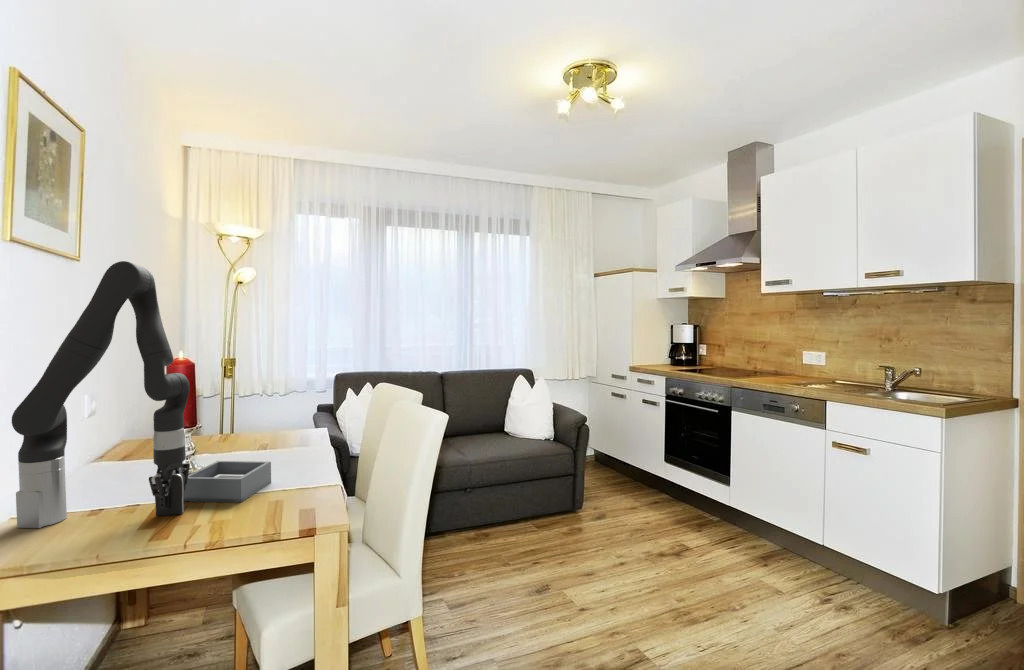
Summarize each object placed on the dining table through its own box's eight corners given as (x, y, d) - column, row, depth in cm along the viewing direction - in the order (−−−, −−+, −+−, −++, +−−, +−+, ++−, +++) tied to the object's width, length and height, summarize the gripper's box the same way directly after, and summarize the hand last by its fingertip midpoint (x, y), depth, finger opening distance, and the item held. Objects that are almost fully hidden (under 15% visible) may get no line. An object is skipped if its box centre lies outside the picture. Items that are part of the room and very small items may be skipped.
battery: (187, 509, 149) (186, 470, 149) (182, 515, 146) (181, 474, 145) (160, 511, 148) (159, 471, 147) (154, 517, 144) (153, 476, 143)
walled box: (241, 502, 155) (241, 479, 155) (182, 501, 156) (181, 478, 155) (271, 482, 173) (270, 461, 173) (217, 481, 174) (217, 460, 173)
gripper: (164, 452, 138) (166, 515, 139) (198, 439, 153) (200, 496, 153) (137, 452, 139) (139, 515, 139) (173, 438, 153) (175, 496, 154)
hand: (171, 505), depth 146 cm, fingers closed on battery, 4 cm apart
